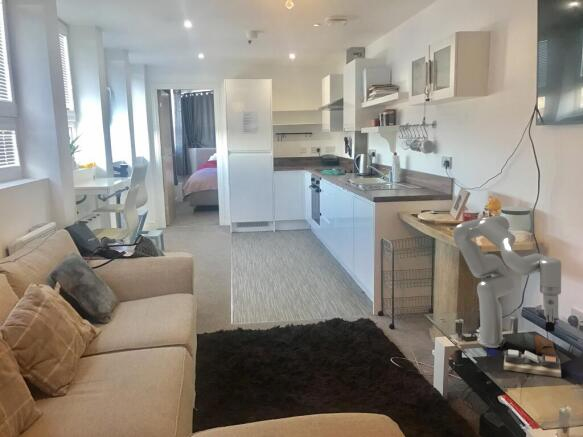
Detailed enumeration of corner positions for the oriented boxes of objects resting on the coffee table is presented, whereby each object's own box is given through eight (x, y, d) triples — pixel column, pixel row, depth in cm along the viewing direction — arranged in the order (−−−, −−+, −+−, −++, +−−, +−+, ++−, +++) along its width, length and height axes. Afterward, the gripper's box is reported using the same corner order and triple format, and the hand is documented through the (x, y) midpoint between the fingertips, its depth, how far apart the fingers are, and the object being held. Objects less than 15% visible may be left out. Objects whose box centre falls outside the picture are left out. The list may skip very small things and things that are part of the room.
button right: (545, 365, 190) (545, 360, 190) (544, 360, 193) (544, 355, 193) (556, 366, 188) (556, 361, 188) (555, 361, 192) (555, 357, 191)
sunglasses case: (559, 359, 197) (550, 346, 197) (543, 366, 200) (534, 353, 200) (553, 341, 213) (545, 329, 213) (538, 347, 216) (530, 335, 216)
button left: (508, 358, 196) (507, 353, 196) (508, 353, 200) (508, 349, 199) (518, 359, 194) (518, 355, 194) (518, 355, 198) (518, 350, 198)
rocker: (524, 356, 193) (525, 354, 193) (524, 352, 196) (525, 349, 196) (538, 363, 191) (539, 360, 191) (538, 358, 194) (539, 356, 194)
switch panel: (503, 369, 194) (503, 359, 193) (505, 356, 205) (505, 346, 204) (561, 377, 184) (561, 367, 184) (559, 362, 195) (559, 353, 194)
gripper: (562, 296, 177) (561, 339, 180) (560, 282, 190) (559, 324, 193) (540, 294, 180) (539, 337, 184) (539, 281, 193) (539, 322, 197)
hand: (549, 330), depth 188 cm, fingers closed
